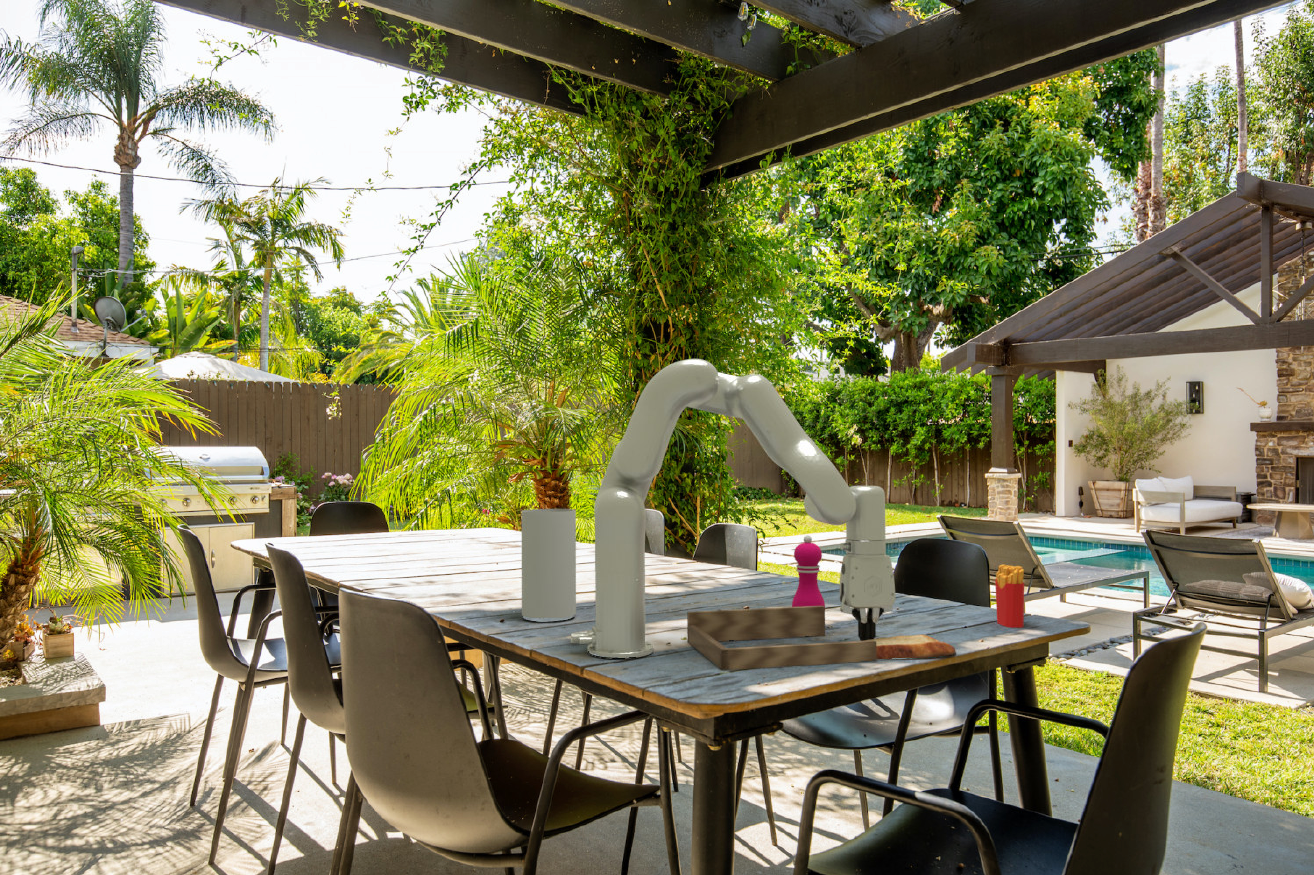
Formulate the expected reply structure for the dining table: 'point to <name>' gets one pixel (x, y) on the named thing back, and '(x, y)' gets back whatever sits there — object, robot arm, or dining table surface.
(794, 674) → the dining table surface
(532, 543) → the cylinder vase
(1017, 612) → the french fries
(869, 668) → the dining table surface
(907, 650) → the bread slice
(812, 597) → the pepper mill
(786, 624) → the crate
